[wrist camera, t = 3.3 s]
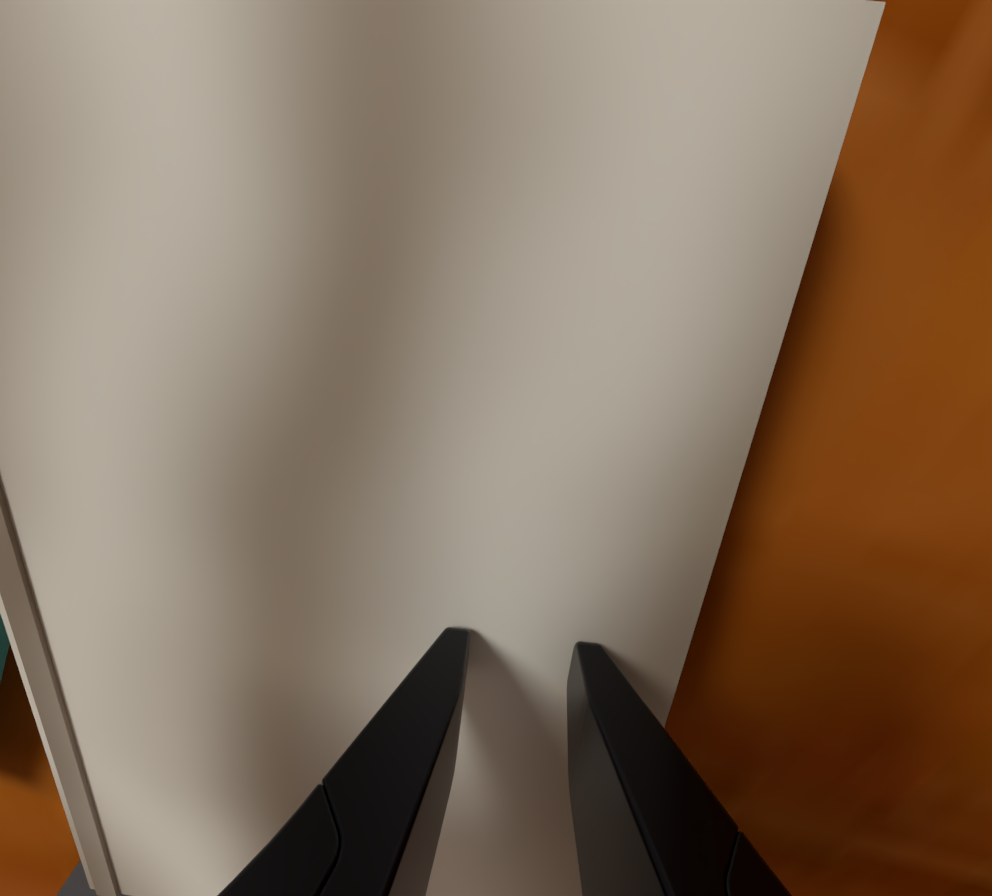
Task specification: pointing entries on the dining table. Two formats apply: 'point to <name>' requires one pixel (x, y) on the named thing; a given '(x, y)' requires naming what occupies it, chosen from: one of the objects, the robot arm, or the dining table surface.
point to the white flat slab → (380, 383)
